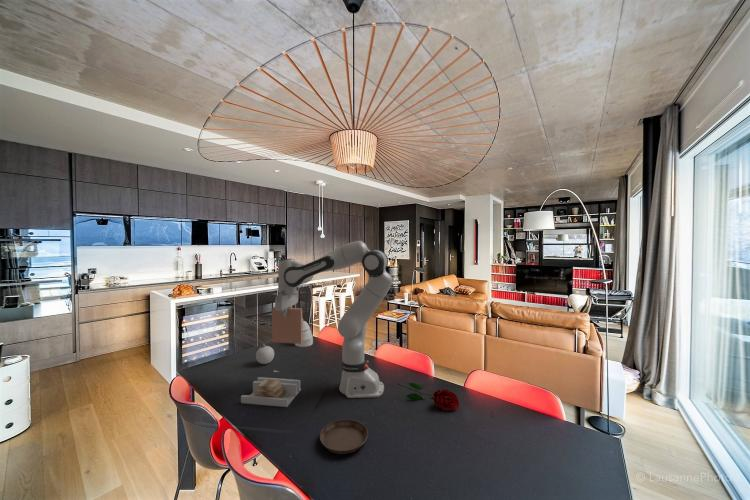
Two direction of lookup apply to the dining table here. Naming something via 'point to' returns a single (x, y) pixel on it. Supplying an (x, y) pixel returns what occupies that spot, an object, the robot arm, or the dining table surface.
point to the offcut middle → (270, 393)
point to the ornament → (265, 354)
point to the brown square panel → (287, 326)
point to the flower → (437, 397)
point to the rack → (290, 390)
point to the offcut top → (269, 385)
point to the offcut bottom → (280, 395)
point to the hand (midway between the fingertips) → (287, 315)
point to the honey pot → (306, 335)
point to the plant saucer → (343, 436)
